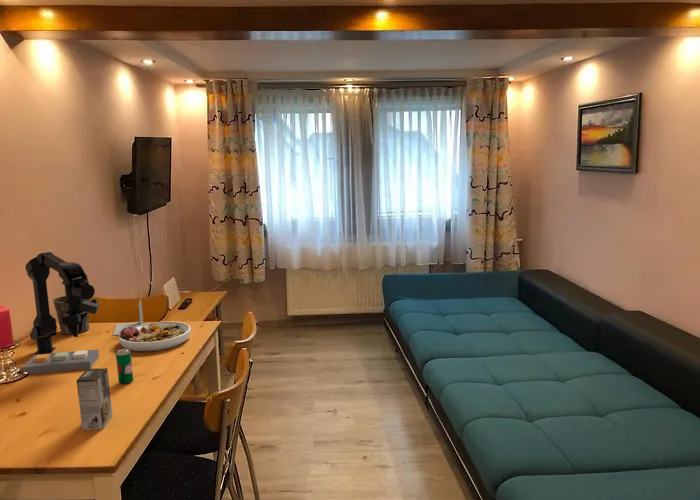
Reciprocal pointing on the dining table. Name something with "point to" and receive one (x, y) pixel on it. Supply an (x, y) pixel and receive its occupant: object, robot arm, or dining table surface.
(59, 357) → the sage button
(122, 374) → the soda can
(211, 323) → the dining table surface
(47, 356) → the orange button
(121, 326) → the laptop
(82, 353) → the off white button
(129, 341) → the bowl
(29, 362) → the panel
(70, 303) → the robot arm
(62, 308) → the plant pot
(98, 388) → the coffee box
